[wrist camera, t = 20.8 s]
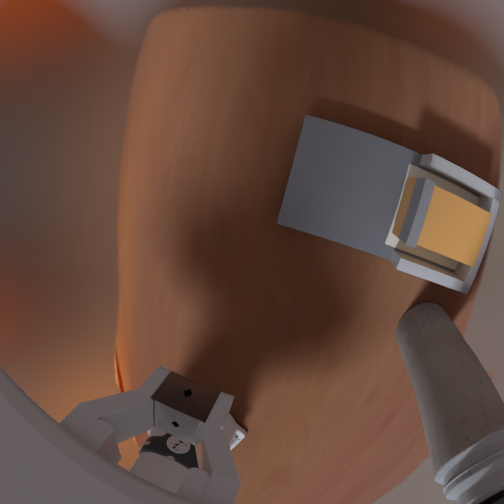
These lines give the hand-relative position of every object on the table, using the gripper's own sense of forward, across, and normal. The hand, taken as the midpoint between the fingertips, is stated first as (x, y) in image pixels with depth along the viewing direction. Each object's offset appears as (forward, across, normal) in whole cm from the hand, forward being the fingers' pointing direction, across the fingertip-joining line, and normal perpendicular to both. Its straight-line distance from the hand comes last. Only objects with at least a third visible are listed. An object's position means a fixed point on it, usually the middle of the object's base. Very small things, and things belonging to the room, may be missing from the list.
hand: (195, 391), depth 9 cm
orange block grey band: (+22, +16, +8) cm, 28 cm away
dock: (+25, +10, +8) cm, 28 cm away
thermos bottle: (+25, +22, -6) cm, 34 cm away
